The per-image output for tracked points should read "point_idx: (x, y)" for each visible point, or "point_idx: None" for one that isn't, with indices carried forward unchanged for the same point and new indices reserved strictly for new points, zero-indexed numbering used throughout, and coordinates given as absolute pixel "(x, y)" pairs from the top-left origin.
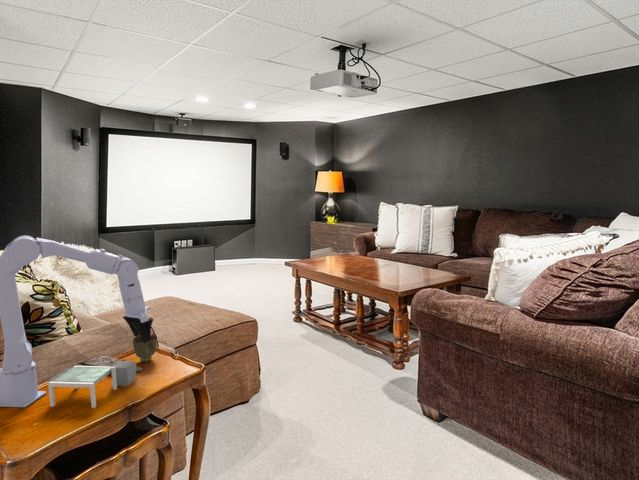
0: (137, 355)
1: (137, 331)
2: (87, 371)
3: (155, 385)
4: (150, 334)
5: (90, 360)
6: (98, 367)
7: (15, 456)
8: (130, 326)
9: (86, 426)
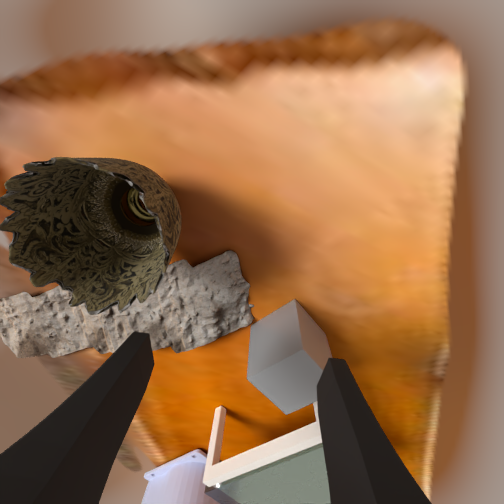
0: (148, 255)
1: (137, 384)
2: (287, 480)
3: (406, 281)
4: (366, 405)
5: (32, 338)
6: (282, 457)
7: None
8: (108, 475)
9: (434, 449)
